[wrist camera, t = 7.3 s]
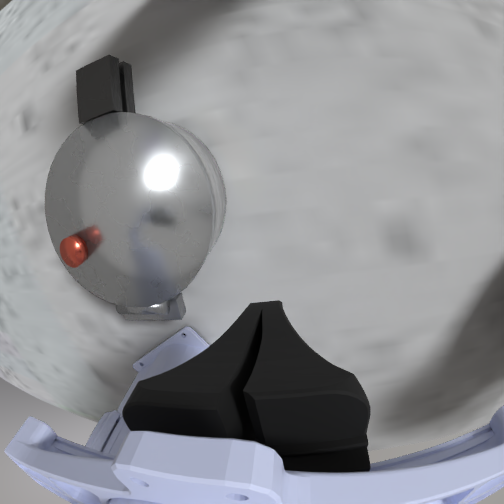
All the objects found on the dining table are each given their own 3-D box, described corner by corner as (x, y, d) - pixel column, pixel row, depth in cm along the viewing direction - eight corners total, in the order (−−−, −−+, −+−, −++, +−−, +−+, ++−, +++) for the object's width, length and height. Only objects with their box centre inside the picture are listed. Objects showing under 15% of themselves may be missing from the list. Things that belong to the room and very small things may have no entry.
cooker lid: (233, 305, 19) (229, 321, 18) (84, 309, 21) (72, 321, 19) (192, 35, 13) (183, 24, 12) (39, 99, 15) (23, 98, 13)
